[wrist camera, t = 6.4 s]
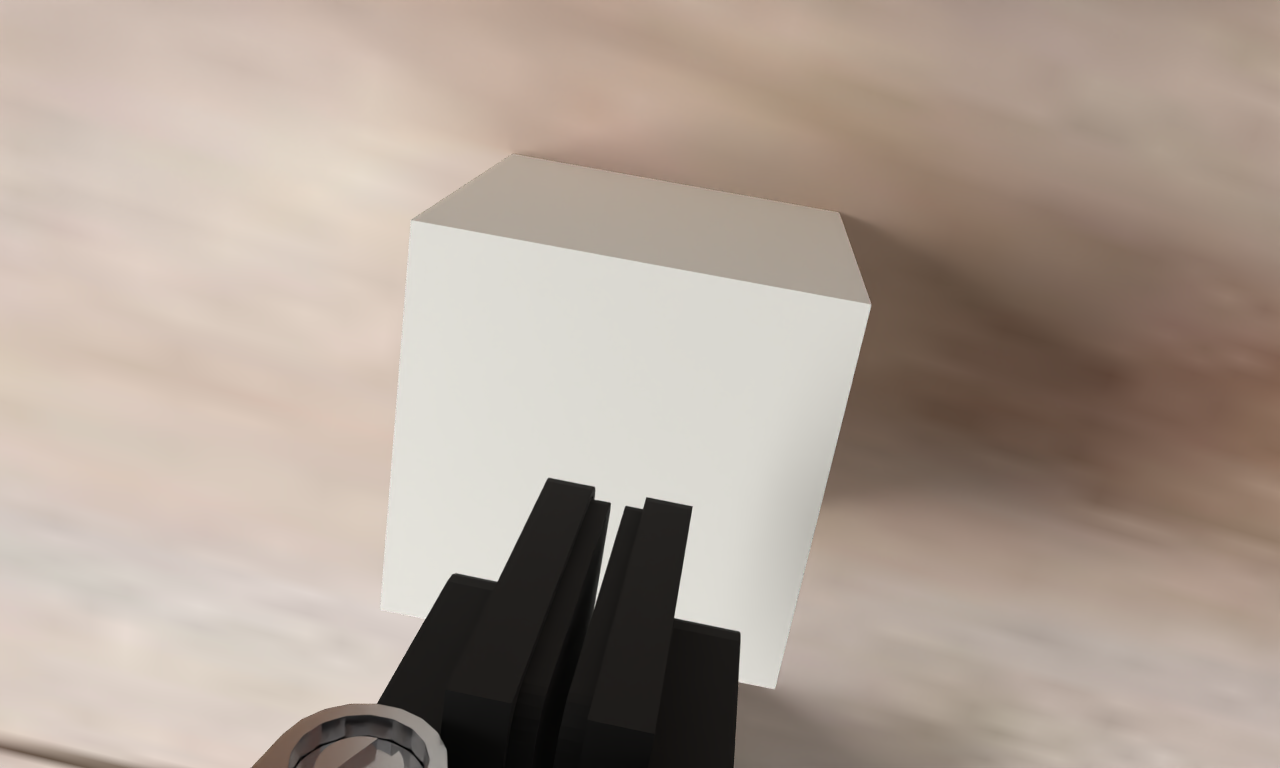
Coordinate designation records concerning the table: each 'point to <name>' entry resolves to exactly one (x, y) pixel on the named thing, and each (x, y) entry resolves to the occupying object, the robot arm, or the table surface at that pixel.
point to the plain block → (622, 381)
